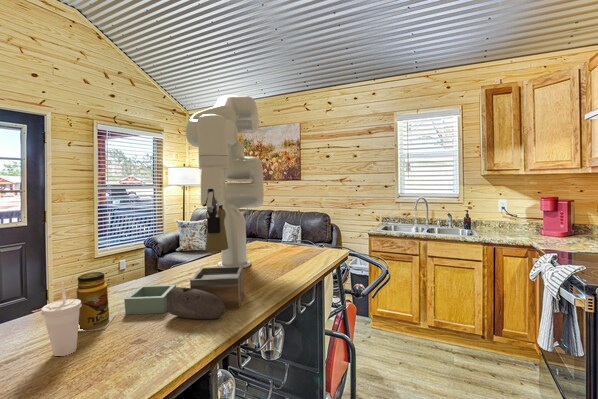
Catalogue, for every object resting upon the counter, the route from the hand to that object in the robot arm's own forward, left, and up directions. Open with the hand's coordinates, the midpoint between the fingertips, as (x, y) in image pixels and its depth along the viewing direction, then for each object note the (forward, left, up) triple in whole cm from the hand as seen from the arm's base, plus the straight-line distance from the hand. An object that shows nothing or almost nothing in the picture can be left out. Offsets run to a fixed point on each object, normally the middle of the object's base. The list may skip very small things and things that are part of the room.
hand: (216, 230), depth 86 cm
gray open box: (0, 0, -20) cm, 20 cm away
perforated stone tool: (+9, -4, -20) cm, 22 cm away
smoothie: (+22, -26, -20) cm, 40 cm away
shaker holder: (+1, -18, -20) cm, 26 cm away
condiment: (+10, -28, -20) cm, 36 cm away
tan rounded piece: (0, 0, -5) cm, 5 cm away
